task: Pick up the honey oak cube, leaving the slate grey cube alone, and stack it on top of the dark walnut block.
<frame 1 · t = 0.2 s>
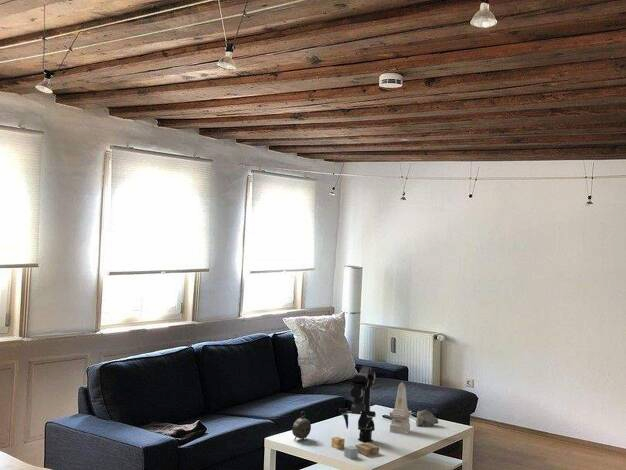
hand: (356, 429, 351), 15 cm above the table, tool pointing down, fingers open, 9 cm apart
alarm clock: (301, 440, 380), on the table
miniature monument: (399, 431, 406), on the table
walnut block: (366, 453, 362), on the table
oak cube: (337, 447, 370), on the table
grey cube: (350, 456, 354), on the table
mineral rock: (426, 426, 421), on the table
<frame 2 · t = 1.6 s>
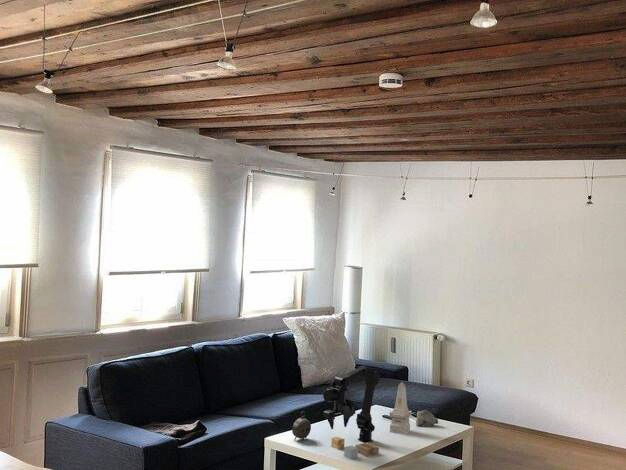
hand: (338, 428, 370), 10 cm above the table, tool pointing down, fingers open, 9 cm apart
nothing on the table moved.
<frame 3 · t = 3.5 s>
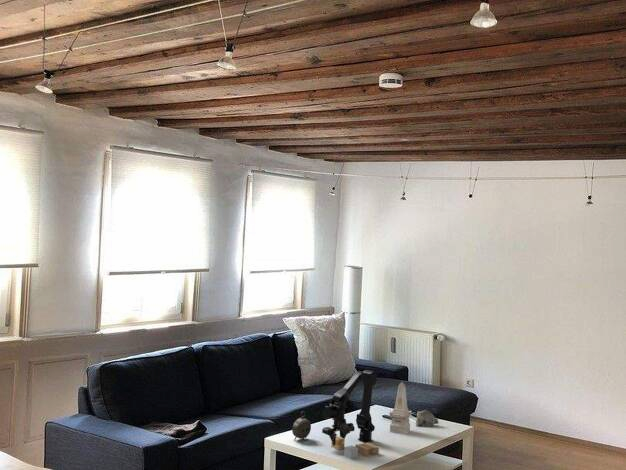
hand: (337, 444, 370), 1 cm above the table, tool pointing down, fingers closed on oak cube, 5 cm apart
oak cube: (337, 447, 370), on the table, touching gripper
everything else where it was.
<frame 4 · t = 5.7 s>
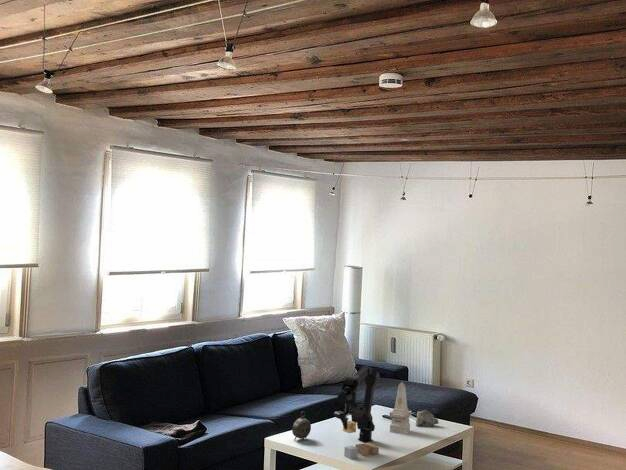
hand: (349, 429, 367), 11 cm above the table, tool pointing down, fingers closed on oak cube, 5 cm apart
oak cube: (349, 431, 367), point 10 cm above the table, touching gripper
everything else where it was.
when the fingers open (7 cm above the table, at t = 8.0 s): oak cube drops 2 cm, point 4 cm above the table.
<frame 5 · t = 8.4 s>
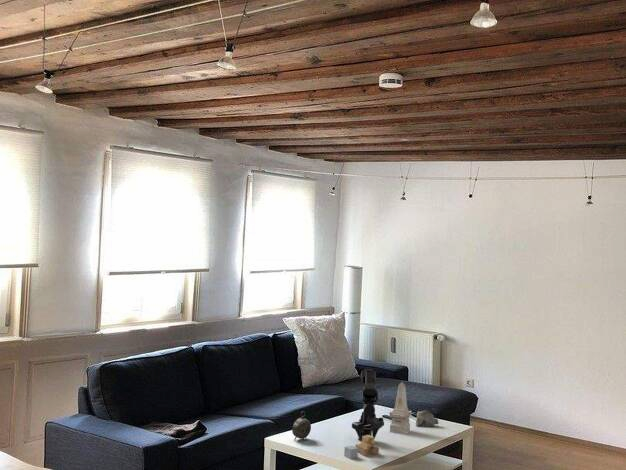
hand: (367, 440, 362), 7 cm above the table, tool pointing down, fingers open, 9 cm apart
oak cube: (367, 446, 362), point 4 cm above the table
everything else where it was.
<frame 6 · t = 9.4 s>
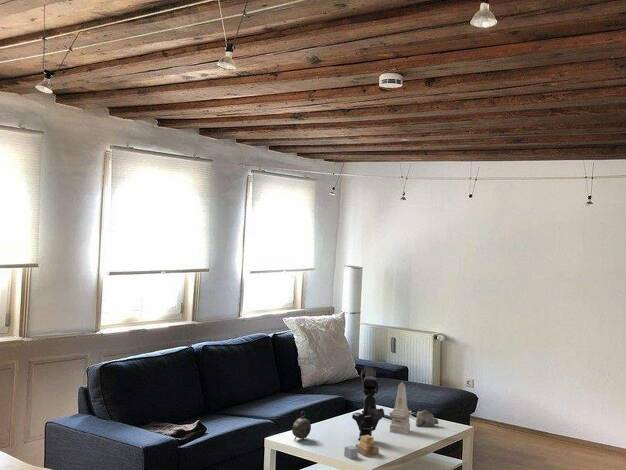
hand: (367, 431, 362), 12 cm above the table, tool pointing down, fingers open, 9 cm apart
walnut block: (366, 453, 362), on the table, touching oak cube
oak cube: (366, 446, 362), point 4 cm above the table, touching walnut block
everything else where it was.
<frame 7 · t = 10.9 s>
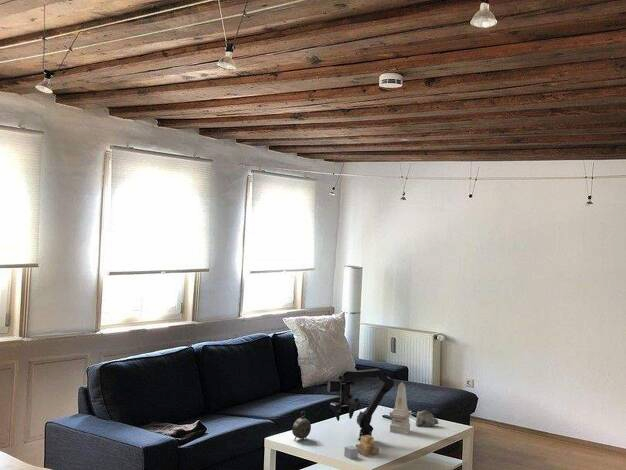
hand: (344, 419, 381), 12 cm above the table, tool pointing down, fingers open, 9 cm apart
walnut block: (366, 453, 362), on the table
oak cube: (366, 446, 362), point 4 cm above the table
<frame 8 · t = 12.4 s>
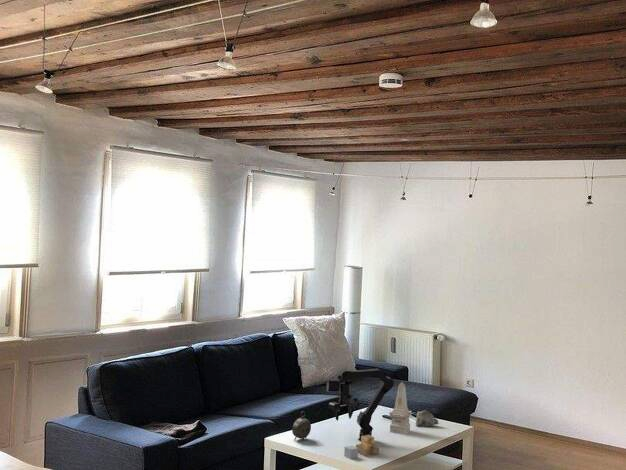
hand: (343, 419, 382), 12 cm above the table, tool pointing down, fingers open, 9 cm apart
at the end: oak cube 0.2 cm off-centre on the walnut block, point 4.0 cm above the walnut block's base; oak cube tilted 0°; the gripper is holding nothing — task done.
